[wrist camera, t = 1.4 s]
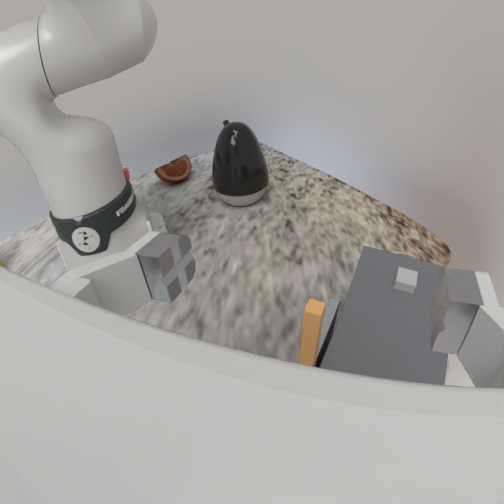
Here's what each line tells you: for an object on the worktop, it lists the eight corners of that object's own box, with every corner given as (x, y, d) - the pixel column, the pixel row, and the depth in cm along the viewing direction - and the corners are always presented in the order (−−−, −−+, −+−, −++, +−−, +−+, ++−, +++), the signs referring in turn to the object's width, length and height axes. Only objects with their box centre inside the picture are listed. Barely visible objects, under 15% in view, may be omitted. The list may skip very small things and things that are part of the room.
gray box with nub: (397, 447, 24) (445, 406, 17) (304, 420, 28) (315, 371, 21) (424, 312, 36) (453, 247, 29) (354, 293, 40) (368, 224, 33)
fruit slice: (167, 192, 64) (162, 171, 61) (151, 184, 68) (147, 164, 65) (198, 177, 69) (194, 156, 65) (181, 170, 72) (177, 151, 69)
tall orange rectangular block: (302, 415, 28) (320, 315, 17) (293, 412, 28) (303, 310, 17) (328, 354, 33) (352, 235, 22) (320, 352, 33) (339, 232, 23)
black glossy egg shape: (255, 181, 65) (250, 110, 55) (278, 204, 57) (276, 124, 48) (208, 193, 62) (197, 121, 52) (225, 219, 55) (214, 136, 45)
